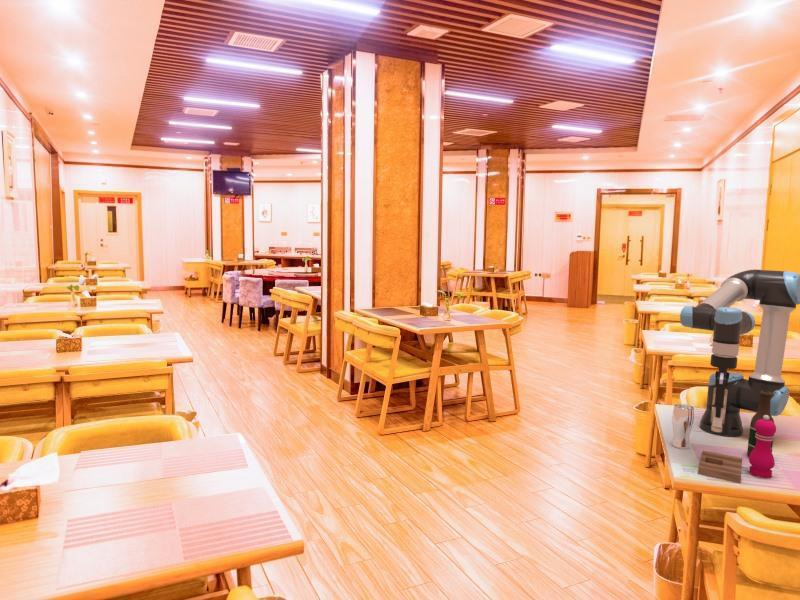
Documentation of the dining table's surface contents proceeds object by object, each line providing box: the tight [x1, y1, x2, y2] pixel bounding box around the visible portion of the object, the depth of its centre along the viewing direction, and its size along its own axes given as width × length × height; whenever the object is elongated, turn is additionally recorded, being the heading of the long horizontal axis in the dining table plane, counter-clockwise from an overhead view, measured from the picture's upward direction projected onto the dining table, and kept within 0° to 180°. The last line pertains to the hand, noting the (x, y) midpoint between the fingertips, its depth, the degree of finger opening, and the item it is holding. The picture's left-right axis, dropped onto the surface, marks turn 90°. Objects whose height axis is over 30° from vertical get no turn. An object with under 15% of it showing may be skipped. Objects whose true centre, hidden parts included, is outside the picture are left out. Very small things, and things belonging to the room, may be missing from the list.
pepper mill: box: [748, 415, 777, 479], centre depth 189 cm, size 7×7×20 cm
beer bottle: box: [746, 391, 776, 458], centre depth 203 cm, size 8×8×24 cm
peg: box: [710, 388, 728, 432], centre depth 192 cm, size 4×4×14 cm
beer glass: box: [671, 403, 695, 450], centre depth 213 cm, size 7×7×15 cm
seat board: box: [697, 449, 743, 484], centre depth 193 cm, size 17×12×2 cm
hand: (717, 424), depth 192 cm, fingers closed on peg, 4 cm apart
